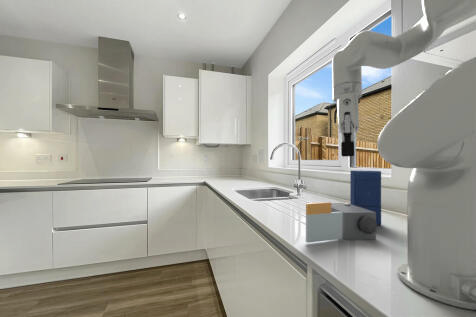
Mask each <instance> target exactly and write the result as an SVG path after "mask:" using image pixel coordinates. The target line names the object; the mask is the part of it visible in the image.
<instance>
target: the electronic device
mask: <svg viewBox="0 0 476 317" xmlns="http://www.w3.org/2000/svg"><path fill="white" fill-rule="evenodd" d="M349 181H350V182H349V183H350V188H349V190H350V191H349V192H350V199H349V200H350V204H352V205H355V206H358V207H361V208H364V209H367V210H370V211H373V212H376V223H377V226H381V225H382V171H381V170H350V180H349Z"/></svg>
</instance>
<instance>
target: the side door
mask: <svg viewBox="0 0 476 317" xmlns="http://www.w3.org/2000/svg"><path fill="white" fill-rule="evenodd" d="M331 203H332V202H331V201H328V202H327V201H325V202H312V203H311V202H309V203H305V242H306V243H307V244H308V243H316V242H317V243H318V242H325V241H332V240H333V241H334V240H343V238H342V212H331Z"/></svg>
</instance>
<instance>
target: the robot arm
mask: <svg viewBox="0 0 476 317" xmlns="http://www.w3.org/2000/svg"><path fill="white" fill-rule="evenodd" d="M421 6H422V12H423V17H422V18H421V19H420V20H419V21H418V22H416V23H415V24H414V25H413V26H411V27H410V28H409V29H407V30H405V31H404V32H402V33H401V34H399V35H396V36H392V35H388V34H385V33H382V32H378V31H373V30H367V29H366V30H362V31H360V32H358V33H356V35H355V36H354V37H353V38H351V40H350V41H349V42H348V43H347V44H346V46H345V47H343V48H342V49H340V50H338V51H337V52H335V53H334V55H333V56H332V59H331V67H332V68H331V72H332V73H331V74H332V75H331V77H332V78H331V80H332V102H334V103H336V107H337V108H336V110H337V111H336V112H337V124H338V125H337V126H338V130H339V133H340V134H341V144H340V145H341V147H340V150H341V157H354V156H355V142H354V132H355V133H358V132H359V130H360V113H359V112H360V111H359V99H361V98H363V97H362V96H363V90H362V89H363V85H362V82H363V80H362V67H371V68H374V69H375V68H376V69H380V70H384V69H390V68H393V67H396V66H398V65H400V64H403V63H405V62H407V61H409V60H411V59H412V58H414V57H416V56H418V55H420V54H421V53H423V52H425V51H426V50H427V49H428V48H429V47H430V46H432V45H433V44H434V43H435V42H436V41H437V40H438V39H439V38H440V36H442V34H443V33H444V31H446V30H447V28H448V27H449V26H451V25H452V24H453V23H456V22H457V21H459V20H460V19H463V18H465V17H467V16H468V15H470V14H472V13H473V12H475V11H476V0H421ZM377 137H378V138H377V142H376V146H377V152H378V153H379V155H380V157H381V158H382V160H384V161H385V162H387V163H388V164H389V165H392V166H395V167H398V168H403V169H412V171H411V173H410V177H409V179H408V184H407V199H406V202H407V205H406V206H407V207H406V208H407V210H406V211H407V214H406V215H407V219H406V220H407V221H406V222H407V223H406V224H407V225H406V226H407V228H406V229H407V230H406V231H407V235H406V237H407V244H406V247H407V263H404V264H401V265H398V267H397V276H398V278H399V279H400V280H401V281H402V282H403V283H404V284H405V285H407V286H408V287H409V288H411V289H412V290H414V291H416V292H417V293H420V294H422V295H423V296H426V297H428V298H430V299H432V300H436V301H438V302H440V303H444V304H446V305H449V306H453V307H458V308H461V309H467V310H473V311H475V310H476V57H475V56H474V57H471V59H467V60H466V61H464V62H461V63H460V64H458V65H456V66H454V67H453V68H451V69H450V70H448V71H447V72H445V73H444V74H443V75H442V76H440V77H439V78H437V79H436V80H435V81H434V82H432V84H430V85H429V86H428V87H427V88H426V89H424V90H423V91H422V92H421V93H420V94H418V96H416V97H415V98H414V99H413V100H411V101H410V102H409V103H408V104H407V105H406V106H405V107H403V108H402V109H401V110H399V111H398V112H397V113H396V114H395V115H394V116H393V117H391V118H390V119H389V120H388V121H387V123H386V124H385V125H384V126H383V127H382V128H381V131H380V133H379V135H378V136H377Z"/></svg>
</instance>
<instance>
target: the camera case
mask: <svg viewBox="0 0 476 317" xmlns="http://www.w3.org/2000/svg"><path fill="white" fill-rule="evenodd" d="M330 203H331V212H342V240H346V241H347V240H376V239H377V229H378V228H377V227H378V225H377V223H376V212H373V211H370V210H367V209H364V208H361V207H358V206H355V205H352V204H350V203H349V202H330Z"/></svg>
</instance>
